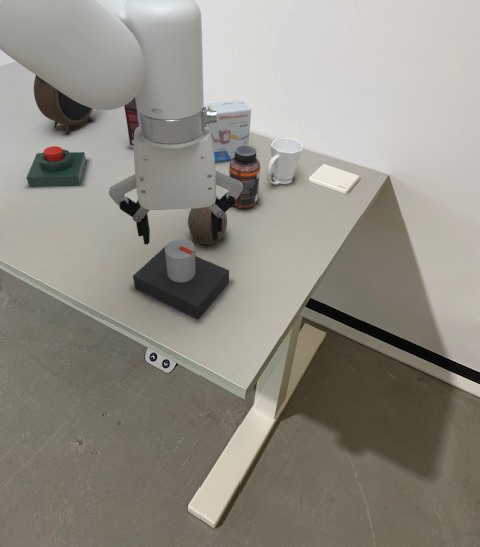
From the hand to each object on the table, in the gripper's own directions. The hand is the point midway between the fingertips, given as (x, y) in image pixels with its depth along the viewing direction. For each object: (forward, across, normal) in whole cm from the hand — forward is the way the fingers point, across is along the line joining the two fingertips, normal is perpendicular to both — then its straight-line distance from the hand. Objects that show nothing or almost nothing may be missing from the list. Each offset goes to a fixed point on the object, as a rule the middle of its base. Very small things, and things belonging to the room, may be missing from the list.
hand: (181, 236), depth 60 cm
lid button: (+7, +25, -36) cm, 44 cm away
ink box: (+11, -12, -42) cm, 45 cm away
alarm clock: (+10, +25, -59) cm, 65 cm away
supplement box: (+10, +6, -47) cm, 48 cm away
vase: (+10, -5, -12) cm, 17 cm away
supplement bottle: (+11, -13, -23) cm, 28 cm away
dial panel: (+10, 0, 0) cm, 10 cm away
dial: (+7, 0, 0) cm, 7 cm away
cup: (+11, -22, -30) cm, 38 cm away
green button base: (+10, +25, -36) cm, 45 cm away
